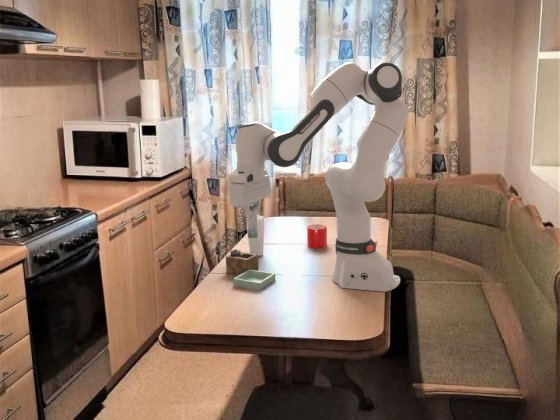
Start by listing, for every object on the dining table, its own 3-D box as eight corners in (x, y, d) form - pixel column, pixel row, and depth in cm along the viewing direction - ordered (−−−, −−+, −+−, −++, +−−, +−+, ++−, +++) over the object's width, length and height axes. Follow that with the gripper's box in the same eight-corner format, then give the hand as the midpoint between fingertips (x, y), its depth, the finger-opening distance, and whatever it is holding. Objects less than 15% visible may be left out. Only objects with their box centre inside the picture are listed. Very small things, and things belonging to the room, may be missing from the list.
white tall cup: (263, 257, 220) (261, 219, 217) (245, 257, 222) (244, 219, 218) (267, 252, 227) (265, 215, 223) (250, 251, 228) (248, 214, 225)
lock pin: (259, 236, 191) (258, 205, 188) (254, 238, 188) (253, 207, 186) (250, 235, 192) (250, 204, 190) (245, 237, 190) (245, 206, 187)
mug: (307, 251, 227) (306, 232, 225) (307, 242, 239) (307, 224, 237) (327, 251, 226) (327, 232, 225) (326, 242, 238) (326, 224, 236)
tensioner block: (258, 270, 206) (257, 249, 205) (248, 276, 200) (247, 254, 199) (237, 266, 211) (236, 246, 209) (226, 272, 205) (225, 251, 203)
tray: (275, 280, 196) (275, 273, 195) (260, 290, 187) (259, 283, 187) (249, 276, 201) (249, 269, 200) (233, 285, 192) (233, 278, 191)
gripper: (258, 167, 196) (260, 207, 199) (225, 177, 178) (227, 221, 181) (275, 169, 193) (276, 209, 196) (242, 179, 175) (244, 223, 178)
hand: (252, 215), depth 188 cm, fingers closed on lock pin, 3 cm apart
